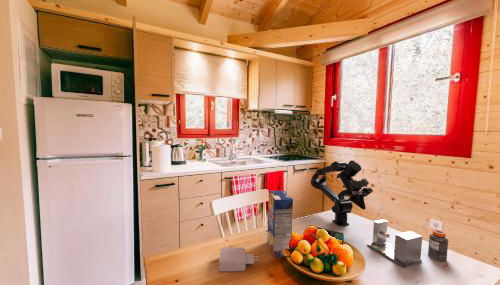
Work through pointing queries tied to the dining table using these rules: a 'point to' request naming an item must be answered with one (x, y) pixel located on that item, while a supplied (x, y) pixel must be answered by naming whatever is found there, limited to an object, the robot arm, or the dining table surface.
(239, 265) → the charger
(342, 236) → the digital multimeter
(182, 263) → the dining table surface
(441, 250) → the pill bottle
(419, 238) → the base
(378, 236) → the white upright block
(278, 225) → the juice carton
